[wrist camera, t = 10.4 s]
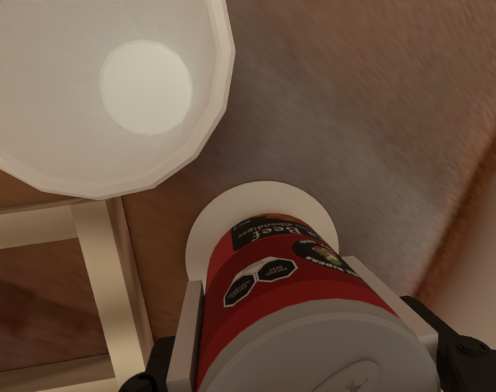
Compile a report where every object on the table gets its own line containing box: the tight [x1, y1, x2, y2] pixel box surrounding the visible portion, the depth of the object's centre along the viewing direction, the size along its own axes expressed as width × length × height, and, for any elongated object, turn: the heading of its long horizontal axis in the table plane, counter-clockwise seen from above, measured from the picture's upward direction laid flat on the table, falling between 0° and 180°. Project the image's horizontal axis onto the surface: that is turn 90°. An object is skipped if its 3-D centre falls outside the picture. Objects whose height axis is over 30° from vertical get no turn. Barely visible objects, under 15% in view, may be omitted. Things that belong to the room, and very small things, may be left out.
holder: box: [0, 196, 154, 392], centre depth 19 cm, size 14×14×2 cm
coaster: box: [185, 180, 339, 295], centre depth 21 cm, size 11×11×1 cm
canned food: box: [195, 213, 441, 392], centre depth 14 cm, size 8×8×11 cm
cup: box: [0, 0, 236, 200], centre depth 14 cm, size 10×10×9 cm
